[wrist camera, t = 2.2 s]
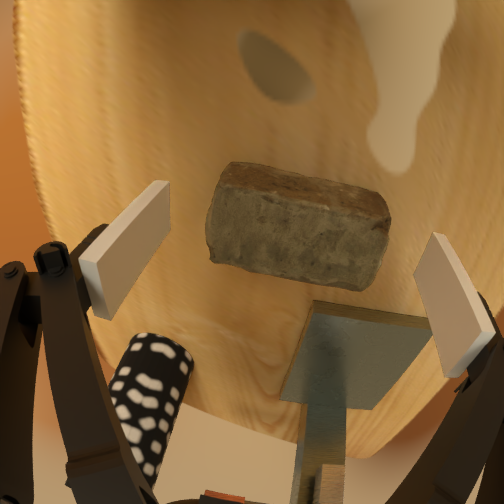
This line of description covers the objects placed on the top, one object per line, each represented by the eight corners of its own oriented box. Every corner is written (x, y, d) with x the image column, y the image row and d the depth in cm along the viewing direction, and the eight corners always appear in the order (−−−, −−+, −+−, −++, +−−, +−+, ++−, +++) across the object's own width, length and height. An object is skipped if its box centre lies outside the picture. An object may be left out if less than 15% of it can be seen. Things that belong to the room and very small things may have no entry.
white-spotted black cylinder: (205, 373, 37) (160, 524, 21) (153, 374, 40) (104, 503, 24) (171, 330, 33) (103, 503, 17) (118, 334, 36) (49, 476, 20)
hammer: (216, 446, 26) (194, 531, 19) (347, 463, 25) (340, 545, 18) (215, 456, 28) (196, 531, 21) (335, 472, 27) (328, 546, 20)
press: (313, 299, 27) (279, 604, 8) (432, 318, 26) (463, 575, 7) (275, 403, 39) (244, 572, 20) (359, 412, 38) (350, 575, 19)
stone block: (362, 254, 24) (370, 299, 20) (216, 226, 24) (197, 265, 20) (386, 188, 20) (403, 225, 16) (222, 155, 21) (199, 184, 17)
